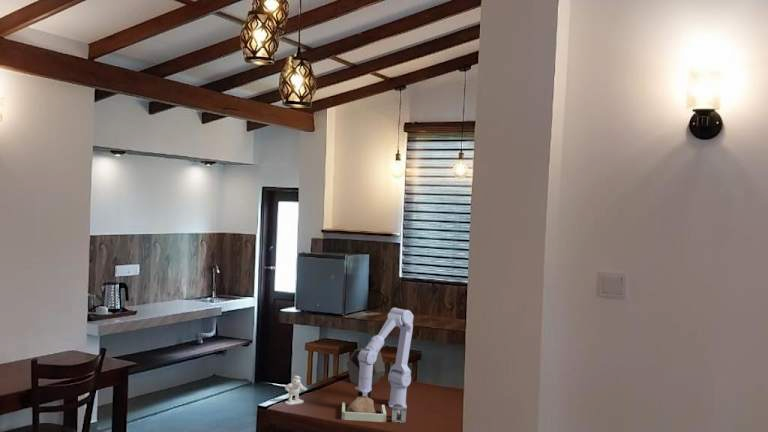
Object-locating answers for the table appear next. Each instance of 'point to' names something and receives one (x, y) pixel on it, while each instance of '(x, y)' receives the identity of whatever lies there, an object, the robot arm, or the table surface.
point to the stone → (362, 405)
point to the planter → (355, 367)
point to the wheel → (398, 410)
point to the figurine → (294, 391)
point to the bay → (364, 415)
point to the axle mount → (403, 414)
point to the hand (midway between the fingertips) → (363, 409)
